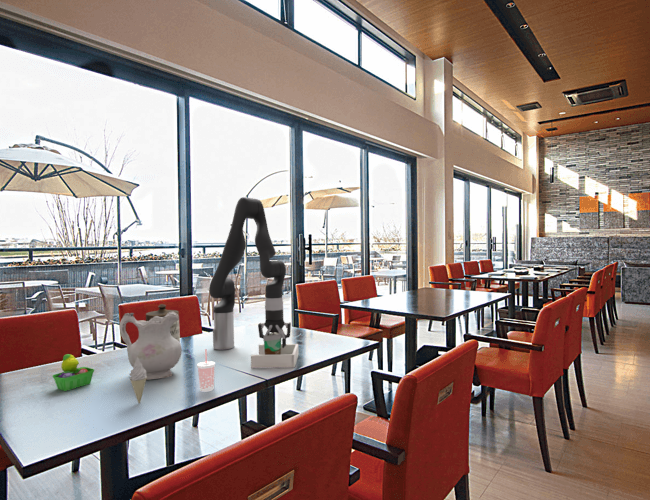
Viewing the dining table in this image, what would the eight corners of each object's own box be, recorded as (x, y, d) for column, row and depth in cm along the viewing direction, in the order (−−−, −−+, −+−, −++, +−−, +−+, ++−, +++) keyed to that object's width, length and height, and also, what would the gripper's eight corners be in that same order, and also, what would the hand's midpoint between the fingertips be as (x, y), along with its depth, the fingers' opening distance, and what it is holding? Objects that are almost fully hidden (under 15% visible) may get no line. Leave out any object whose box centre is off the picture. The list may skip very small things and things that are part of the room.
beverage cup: (209, 385, 150) (208, 346, 150) (219, 388, 146) (218, 348, 146) (194, 390, 145) (192, 349, 145) (204, 393, 141) (203, 352, 141)
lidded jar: (164, 356, 190) (163, 307, 189) (139, 353, 196) (137, 306, 195) (186, 347, 204) (185, 302, 203) (162, 345, 209) (161, 301, 209)
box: (251, 367, 169) (250, 355, 169) (259, 355, 187) (258, 344, 187) (294, 367, 169) (294, 355, 169) (298, 355, 187) (298, 343, 187)
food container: (278, 360, 172) (277, 336, 171) (263, 360, 173) (263, 335, 173) (287, 352, 184) (286, 329, 183) (273, 352, 185) (272, 329, 185)
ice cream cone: (133, 400, 136) (132, 354, 136) (150, 399, 137) (148, 354, 137) (128, 406, 131) (126, 359, 131) (144, 406, 132) (143, 358, 132)
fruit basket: (63, 393, 145) (62, 360, 145) (50, 388, 150) (49, 357, 149) (95, 383, 154) (94, 352, 154) (82, 379, 159) (81, 349, 159)
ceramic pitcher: (122, 390, 149) (120, 321, 147) (120, 371, 167) (118, 309, 164) (185, 380, 159) (185, 315, 157) (177, 363, 177) (177, 304, 174)
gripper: (292, 306, 181) (293, 345, 182) (258, 307, 182) (259, 345, 182) (290, 309, 174) (291, 349, 174) (255, 310, 174) (256, 350, 175)
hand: (275, 347), depth 178 cm, fingers closed on food container, 6 cm apart
